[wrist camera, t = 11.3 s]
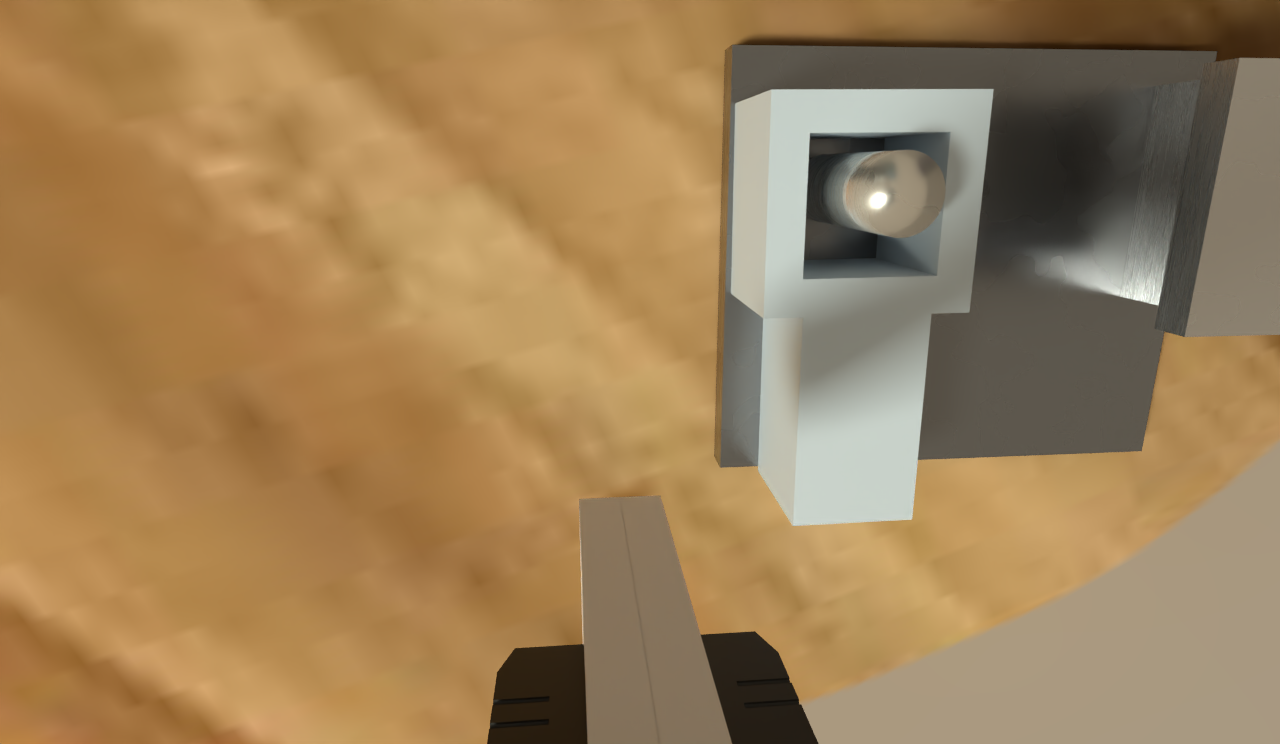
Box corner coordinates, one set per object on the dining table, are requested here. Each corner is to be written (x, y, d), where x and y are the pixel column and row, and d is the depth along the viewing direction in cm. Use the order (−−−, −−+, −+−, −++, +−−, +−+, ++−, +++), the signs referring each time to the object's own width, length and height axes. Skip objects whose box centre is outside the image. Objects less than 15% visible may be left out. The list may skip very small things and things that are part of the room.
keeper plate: (725, 49, 22) (790, 1, 16) (1190, 55, 24) (1430, 13, 17) (714, 456, 26) (764, 554, 19) (1121, 440, 27) (1297, 527, 20)
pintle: (795, 154, 22) (865, 149, 17) (859, 153, 22) (949, 150, 17) (791, 222, 23) (859, 238, 17) (854, 221, 23) (940, 237, 18)
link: (735, 103, 22) (771, 89, 18) (919, 102, 22) (993, 88, 18) (727, 472, 25) (756, 528, 21) (889, 464, 25) (947, 517, 21)
